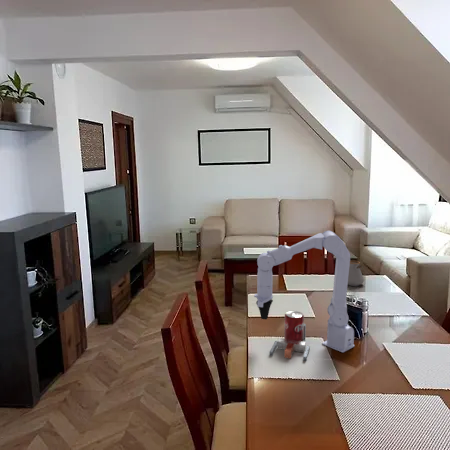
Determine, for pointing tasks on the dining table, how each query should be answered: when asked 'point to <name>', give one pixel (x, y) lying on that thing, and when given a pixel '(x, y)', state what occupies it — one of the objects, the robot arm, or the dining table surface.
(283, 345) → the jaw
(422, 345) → the dining table surface
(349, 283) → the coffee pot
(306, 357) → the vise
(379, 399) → the dining table surface
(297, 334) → the soda can
